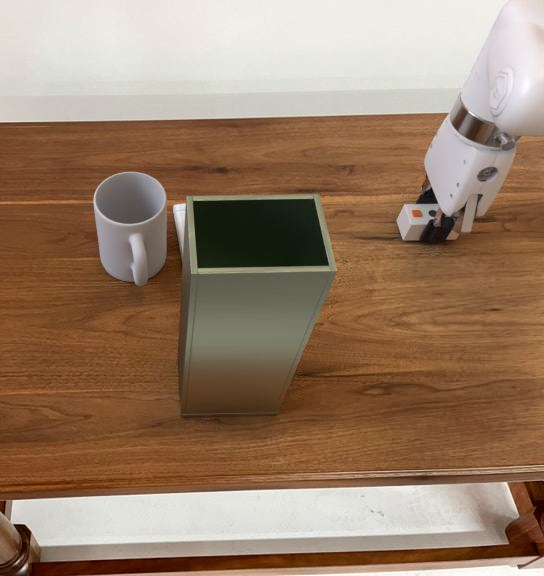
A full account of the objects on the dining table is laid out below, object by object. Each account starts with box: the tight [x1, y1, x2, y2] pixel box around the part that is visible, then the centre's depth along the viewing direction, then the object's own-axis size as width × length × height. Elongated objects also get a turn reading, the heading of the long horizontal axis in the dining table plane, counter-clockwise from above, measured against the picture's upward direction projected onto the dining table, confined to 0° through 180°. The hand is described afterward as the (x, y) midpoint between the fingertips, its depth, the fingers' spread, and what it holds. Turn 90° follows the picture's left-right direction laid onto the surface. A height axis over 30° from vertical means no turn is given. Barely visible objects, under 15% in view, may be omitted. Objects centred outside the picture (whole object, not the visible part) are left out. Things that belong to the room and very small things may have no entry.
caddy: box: [177, 193, 338, 418], centre depth 56 cm, size 10×8×27 cm
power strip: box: [396, 203, 460, 241], centre depth 78 cm, size 4×7×4 cm, turn 91°
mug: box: [93, 171, 168, 287], centre depth 72 cm, size 12×8×11 cm
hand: (427, 227), depth 79 cm, fingers closed on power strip, 3 cm apart
